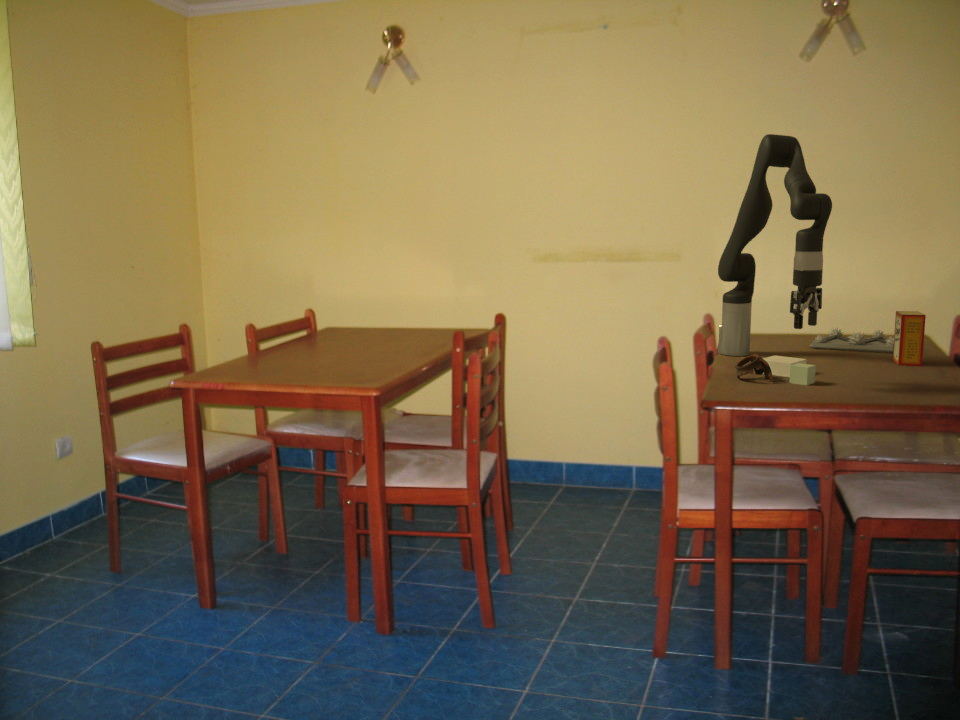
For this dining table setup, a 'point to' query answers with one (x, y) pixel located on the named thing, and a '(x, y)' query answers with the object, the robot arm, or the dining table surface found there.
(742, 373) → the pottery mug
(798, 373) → the cube
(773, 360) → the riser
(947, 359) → the dining table surface
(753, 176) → the robot arm
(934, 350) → the dining table surface
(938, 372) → the dining table surface
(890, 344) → the decorative plate
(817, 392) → the dining table surface
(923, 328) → the baking soda box
